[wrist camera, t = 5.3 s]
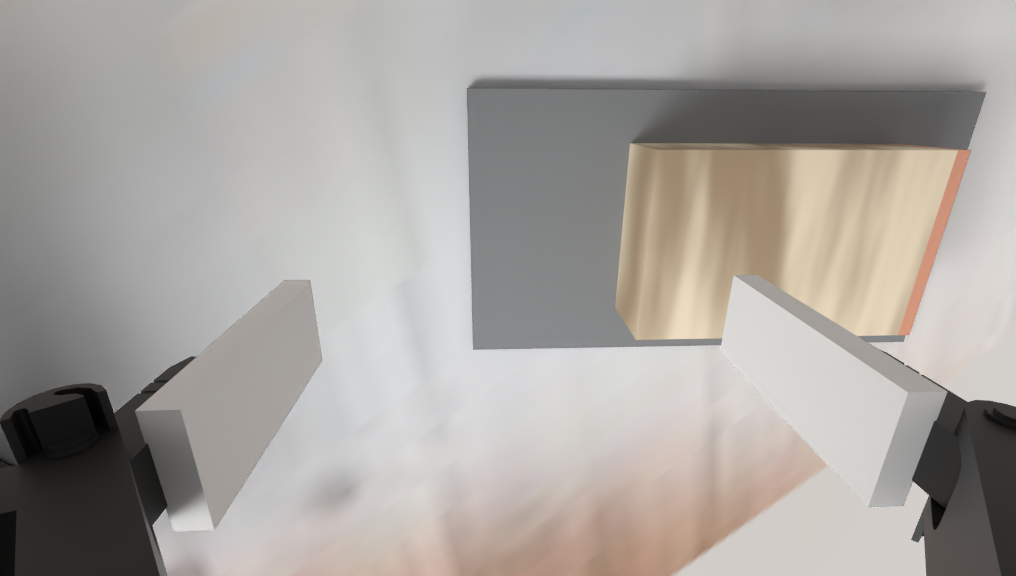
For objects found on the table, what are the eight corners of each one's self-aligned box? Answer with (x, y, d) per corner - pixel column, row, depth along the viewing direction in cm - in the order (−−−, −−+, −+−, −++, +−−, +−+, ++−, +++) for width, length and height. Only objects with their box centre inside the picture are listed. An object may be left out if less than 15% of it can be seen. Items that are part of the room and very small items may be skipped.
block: (635, 339, 24) (909, 335, 24) (657, 149, 20) (971, 150, 21) (614, 307, 27) (852, 304, 28) (630, 143, 24) (897, 143, 25)
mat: (473, 344, 28) (473, 349, 28) (467, 88, 23) (466, 88, 23) (895, 337, 30) (903, 341, 29) (974, 92, 25) (986, 92, 24)
